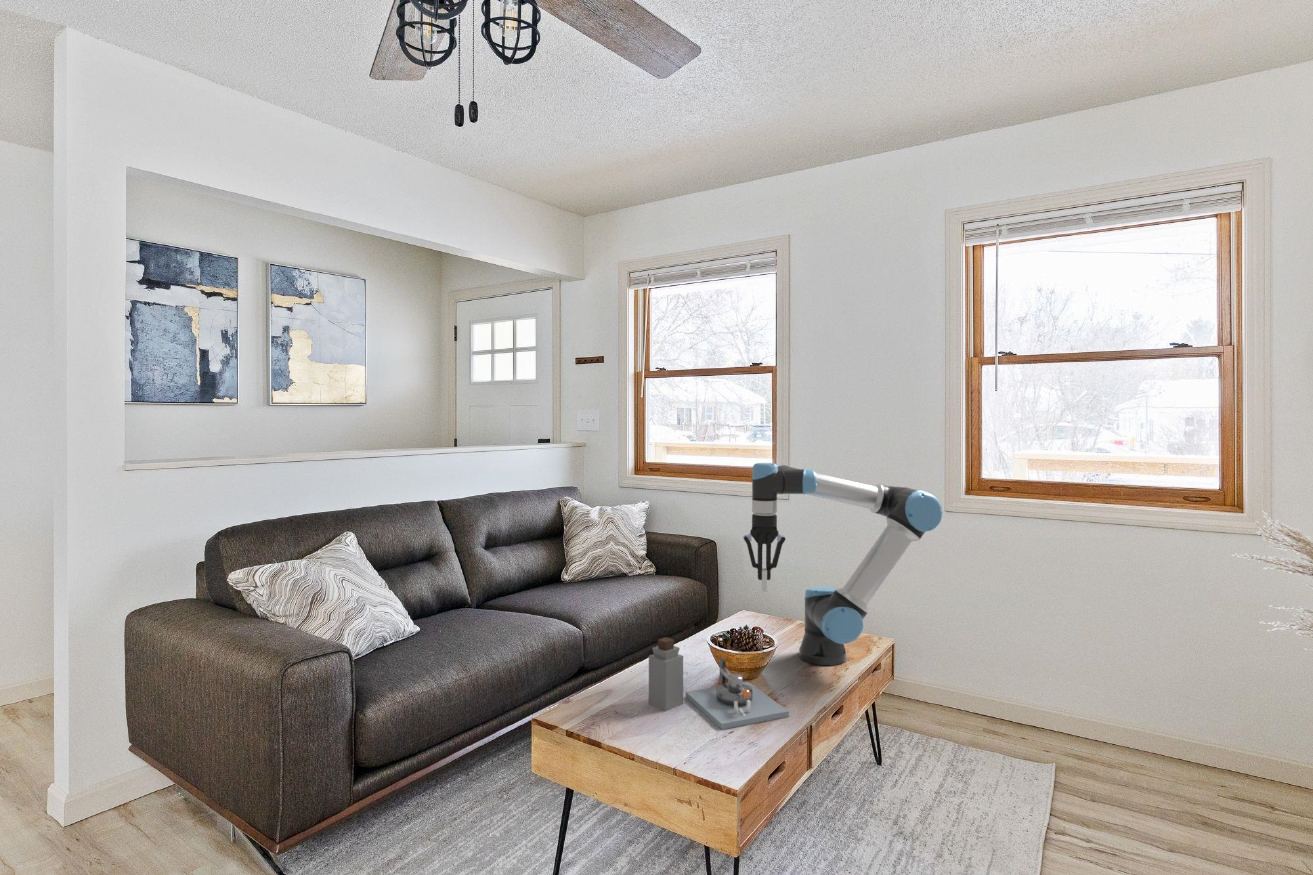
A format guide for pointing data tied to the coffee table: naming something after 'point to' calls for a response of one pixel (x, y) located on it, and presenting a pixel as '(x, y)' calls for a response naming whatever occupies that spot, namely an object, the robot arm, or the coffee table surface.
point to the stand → (736, 708)
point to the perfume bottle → (666, 675)
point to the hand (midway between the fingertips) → (764, 590)
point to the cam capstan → (732, 687)
